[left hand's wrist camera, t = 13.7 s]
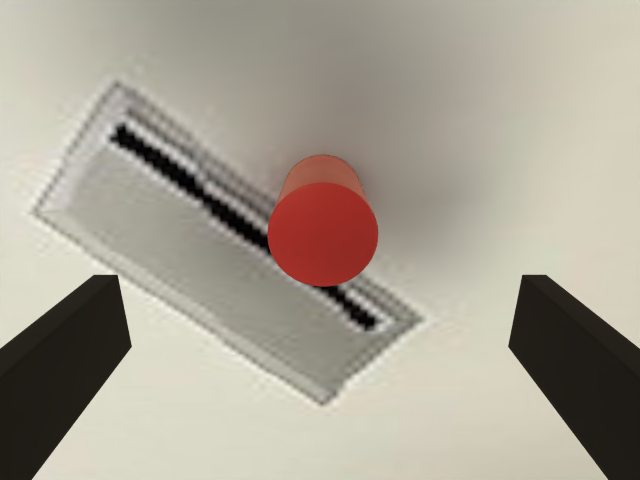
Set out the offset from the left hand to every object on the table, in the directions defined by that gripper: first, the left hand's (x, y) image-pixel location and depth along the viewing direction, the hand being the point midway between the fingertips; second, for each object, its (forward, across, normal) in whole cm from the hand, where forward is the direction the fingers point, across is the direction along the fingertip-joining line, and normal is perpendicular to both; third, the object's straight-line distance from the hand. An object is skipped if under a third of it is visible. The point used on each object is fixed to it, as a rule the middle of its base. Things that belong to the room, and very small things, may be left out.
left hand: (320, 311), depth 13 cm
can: (+15, 0, 0) cm, 15 cm away
